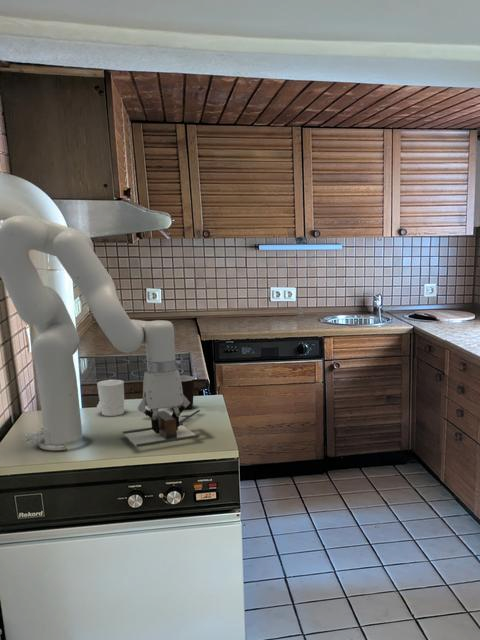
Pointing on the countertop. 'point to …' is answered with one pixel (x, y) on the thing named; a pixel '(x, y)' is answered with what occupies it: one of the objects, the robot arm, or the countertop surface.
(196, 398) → the countertop surface
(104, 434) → the countertop surface
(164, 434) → the eraser
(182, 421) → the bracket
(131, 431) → the memo board
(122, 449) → the countertop surface
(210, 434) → the countertop surface
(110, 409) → the white cup
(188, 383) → the coffee mug
